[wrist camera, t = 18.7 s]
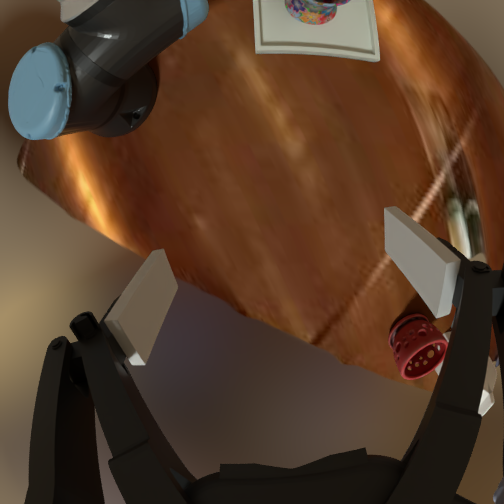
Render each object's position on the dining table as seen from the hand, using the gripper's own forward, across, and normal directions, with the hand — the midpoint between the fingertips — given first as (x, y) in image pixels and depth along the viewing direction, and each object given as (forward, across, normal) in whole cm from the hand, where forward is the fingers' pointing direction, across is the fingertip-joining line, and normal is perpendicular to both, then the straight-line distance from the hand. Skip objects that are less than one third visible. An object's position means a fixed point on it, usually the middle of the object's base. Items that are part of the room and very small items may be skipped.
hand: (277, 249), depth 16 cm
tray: (+32, +14, +27) cm, 44 cm away
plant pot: (+32, +28, -44) cm, 61 cm away
